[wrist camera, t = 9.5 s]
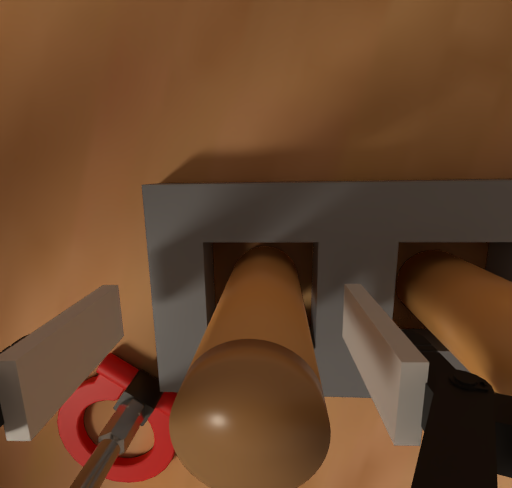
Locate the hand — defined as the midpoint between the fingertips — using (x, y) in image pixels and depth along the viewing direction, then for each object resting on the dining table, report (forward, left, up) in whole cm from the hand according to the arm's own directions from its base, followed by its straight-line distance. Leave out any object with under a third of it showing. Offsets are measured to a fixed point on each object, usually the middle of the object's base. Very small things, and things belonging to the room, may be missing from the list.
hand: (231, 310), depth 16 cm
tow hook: (-8, -10, -5) cm, 14 cm away
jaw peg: (+2, 0, -4) cm, 5 cm away
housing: (+6, 0, -4) cm, 8 cm away
